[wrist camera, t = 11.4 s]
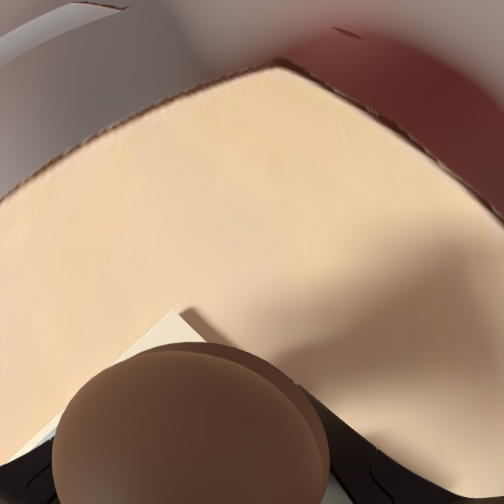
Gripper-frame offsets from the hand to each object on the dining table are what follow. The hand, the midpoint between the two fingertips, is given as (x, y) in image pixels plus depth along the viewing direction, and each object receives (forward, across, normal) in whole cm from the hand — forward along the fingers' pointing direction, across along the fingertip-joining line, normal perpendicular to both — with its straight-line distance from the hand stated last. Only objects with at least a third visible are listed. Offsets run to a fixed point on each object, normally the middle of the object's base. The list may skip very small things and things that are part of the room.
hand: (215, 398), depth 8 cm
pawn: (+4, 0, +5) cm, 6 cm away
